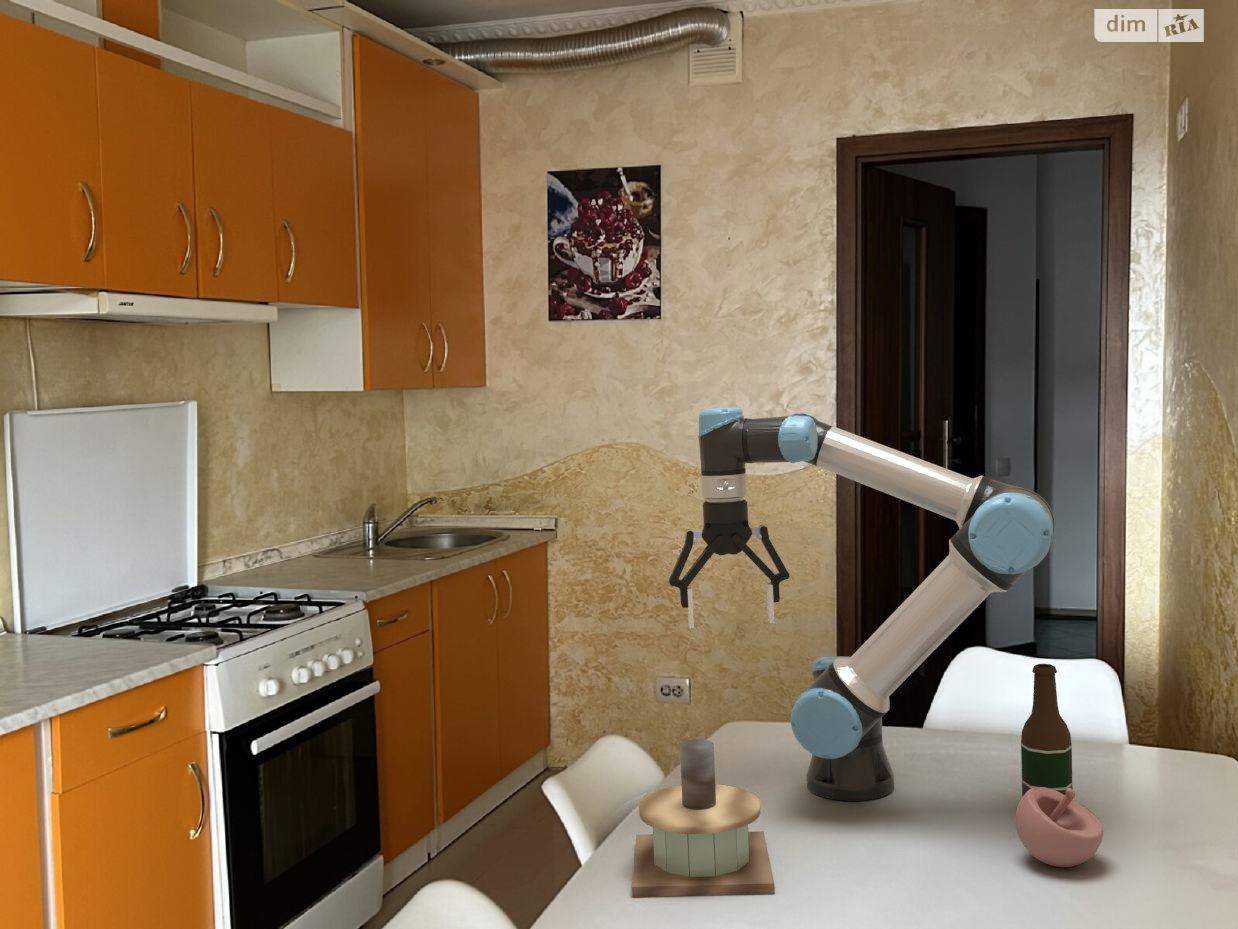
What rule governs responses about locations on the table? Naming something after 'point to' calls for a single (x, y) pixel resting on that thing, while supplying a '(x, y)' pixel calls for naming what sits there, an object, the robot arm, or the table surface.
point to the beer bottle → (1046, 738)
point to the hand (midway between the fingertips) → (731, 624)
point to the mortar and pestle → (1057, 827)
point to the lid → (699, 798)
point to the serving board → (740, 882)
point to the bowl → (701, 852)
